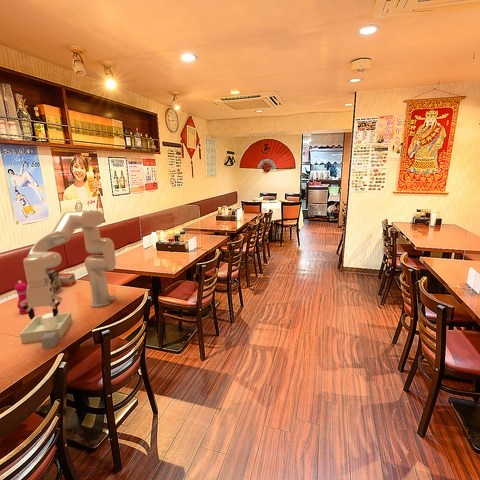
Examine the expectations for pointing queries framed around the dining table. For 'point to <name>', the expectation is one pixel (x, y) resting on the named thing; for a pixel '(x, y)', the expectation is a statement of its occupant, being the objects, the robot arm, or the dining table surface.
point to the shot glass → (49, 321)
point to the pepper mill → (21, 295)
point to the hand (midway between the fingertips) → (44, 316)
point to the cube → (49, 340)
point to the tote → (37, 329)
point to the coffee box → (54, 280)
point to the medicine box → (67, 279)
